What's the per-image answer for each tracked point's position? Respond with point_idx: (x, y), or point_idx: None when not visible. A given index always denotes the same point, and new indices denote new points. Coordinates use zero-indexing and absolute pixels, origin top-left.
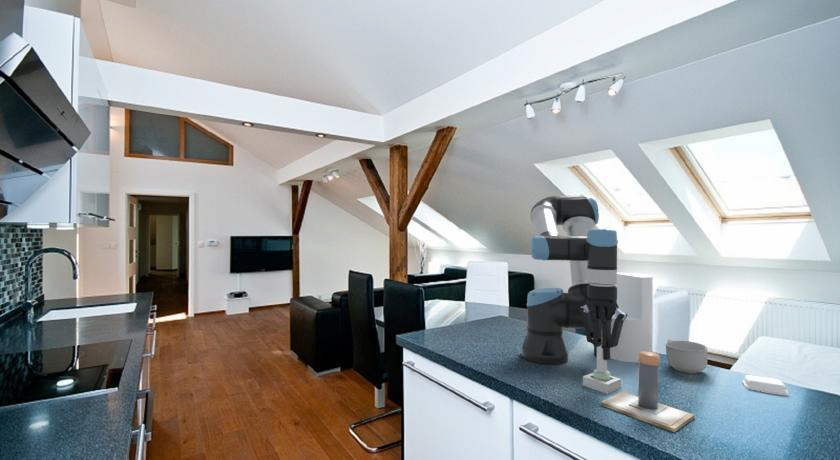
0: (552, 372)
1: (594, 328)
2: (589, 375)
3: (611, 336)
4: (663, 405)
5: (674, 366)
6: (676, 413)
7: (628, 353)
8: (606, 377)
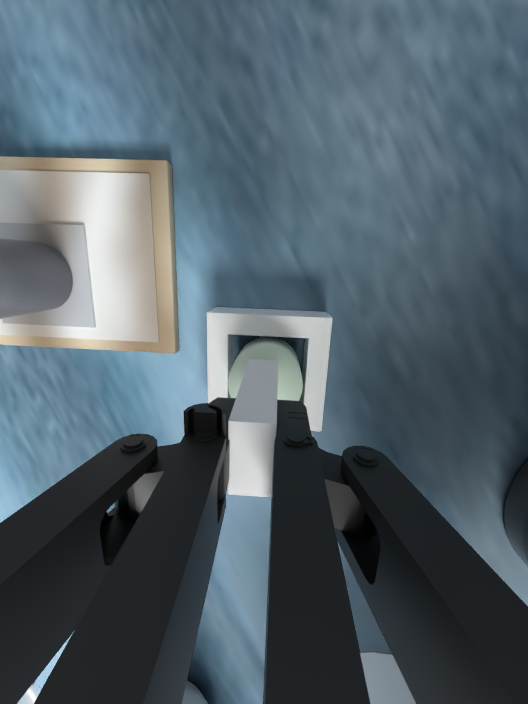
0: (499, 351)
1: (322, 600)
2: (317, 355)
3: (67, 513)
4: (24, 335)
5: None
6: None
7: None
8: (234, 362)
